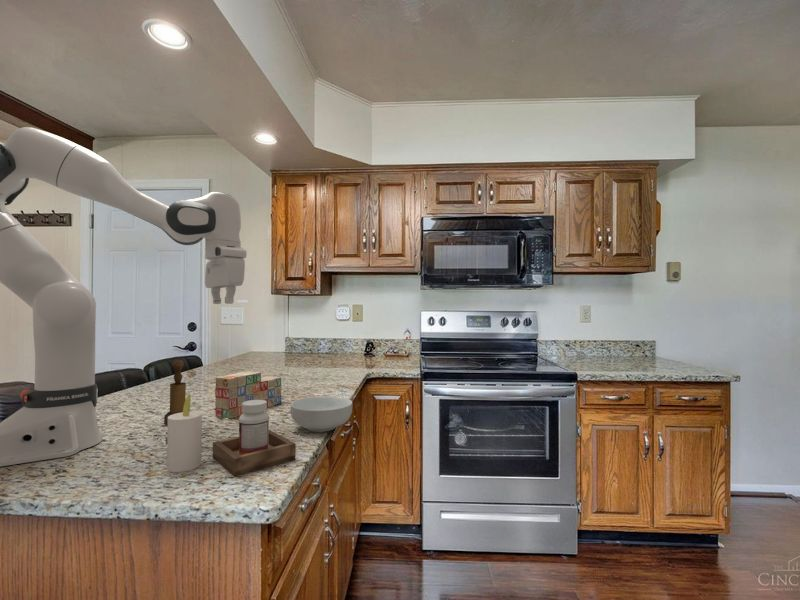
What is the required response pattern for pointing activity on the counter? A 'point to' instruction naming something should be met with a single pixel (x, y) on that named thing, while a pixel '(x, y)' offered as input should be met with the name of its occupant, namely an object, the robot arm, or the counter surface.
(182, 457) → the candle
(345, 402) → the cereal bowl
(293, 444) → the tray
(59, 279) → the robot arm
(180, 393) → the brown knobbed cylinder
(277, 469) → the counter surface
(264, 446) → the pill bottle
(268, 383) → the stack of blocks
